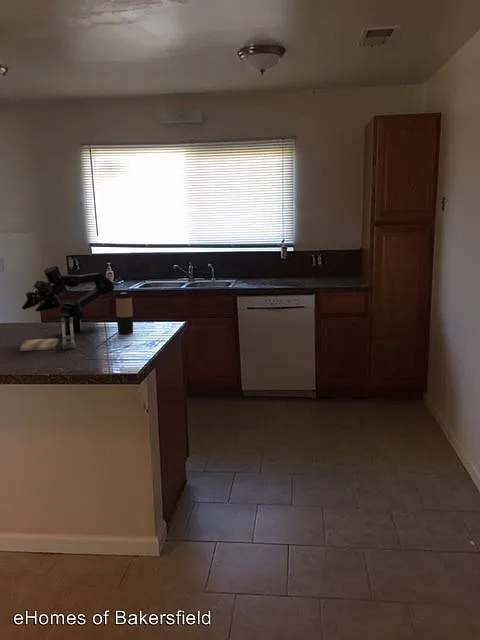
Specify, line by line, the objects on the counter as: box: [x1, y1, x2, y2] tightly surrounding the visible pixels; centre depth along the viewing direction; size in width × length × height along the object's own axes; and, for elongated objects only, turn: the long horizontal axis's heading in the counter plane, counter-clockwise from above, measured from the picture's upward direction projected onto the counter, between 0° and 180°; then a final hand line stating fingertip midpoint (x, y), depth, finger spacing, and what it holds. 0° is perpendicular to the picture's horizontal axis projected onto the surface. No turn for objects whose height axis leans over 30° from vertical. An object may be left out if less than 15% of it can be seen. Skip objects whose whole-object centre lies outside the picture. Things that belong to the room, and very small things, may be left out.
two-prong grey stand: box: [60, 317, 77, 350], centre depth 230 cm, size 5×5×13 cm
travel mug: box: [115, 290, 134, 336], centre depth 254 cm, size 8×8×20 cm
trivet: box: [19, 338, 59, 352], centre depth 234 cm, size 14×14×1 cm
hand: (29, 309), depth 237 cm, fingers open, 9 cm apart
